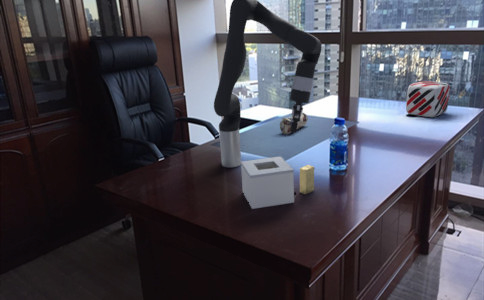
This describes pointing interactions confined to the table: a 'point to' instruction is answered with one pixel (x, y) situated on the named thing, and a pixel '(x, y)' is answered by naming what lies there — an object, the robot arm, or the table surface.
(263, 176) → the box
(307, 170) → the tan rectangular block
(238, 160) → the robot arm
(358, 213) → the table surface
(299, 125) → the pencil case
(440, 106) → the decorative cube
